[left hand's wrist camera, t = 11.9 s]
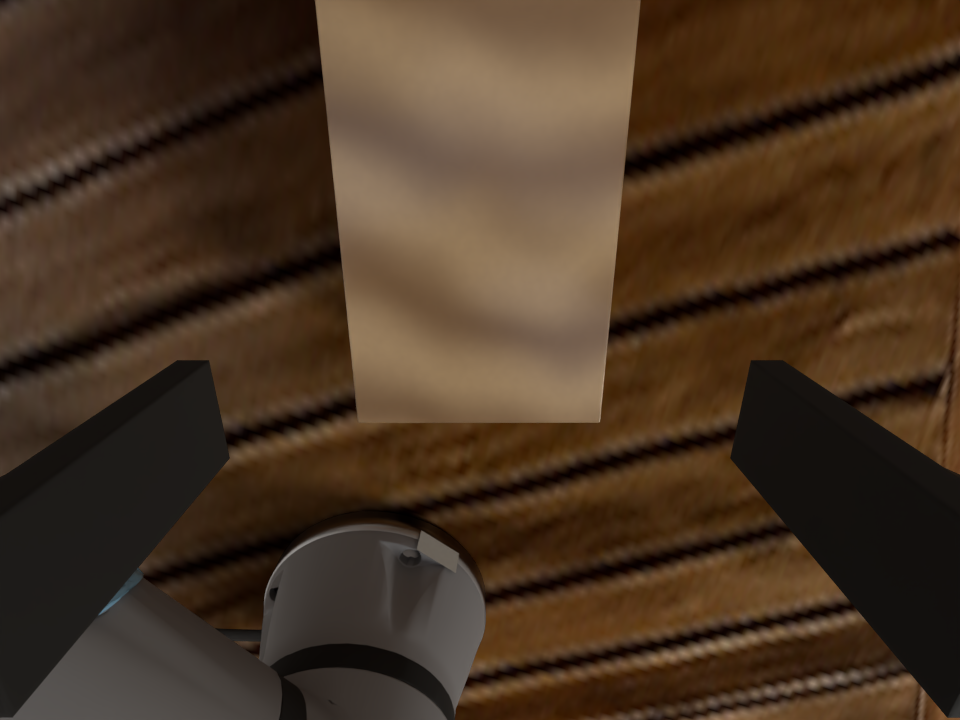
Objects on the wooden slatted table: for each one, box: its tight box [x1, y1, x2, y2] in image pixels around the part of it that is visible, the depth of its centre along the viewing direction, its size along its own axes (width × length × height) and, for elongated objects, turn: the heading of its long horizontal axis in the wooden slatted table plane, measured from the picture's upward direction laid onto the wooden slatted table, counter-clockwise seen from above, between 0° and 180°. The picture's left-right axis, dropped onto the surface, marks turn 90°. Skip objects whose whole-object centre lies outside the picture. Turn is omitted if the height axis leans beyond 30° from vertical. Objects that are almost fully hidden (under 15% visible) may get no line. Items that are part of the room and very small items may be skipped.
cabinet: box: [315, 0, 641, 423], centre depth 21 cm, size 21×10×9 cm, turn 0°
